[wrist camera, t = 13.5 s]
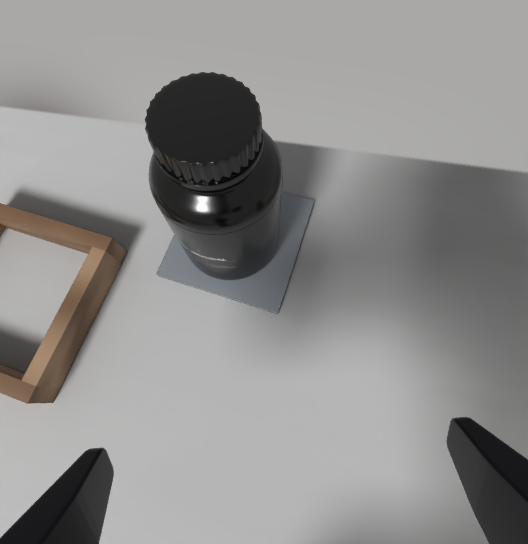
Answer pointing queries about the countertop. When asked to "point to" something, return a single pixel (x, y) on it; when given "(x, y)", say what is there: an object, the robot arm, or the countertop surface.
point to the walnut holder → (74, 310)
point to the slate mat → (264, 284)
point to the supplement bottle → (215, 174)
